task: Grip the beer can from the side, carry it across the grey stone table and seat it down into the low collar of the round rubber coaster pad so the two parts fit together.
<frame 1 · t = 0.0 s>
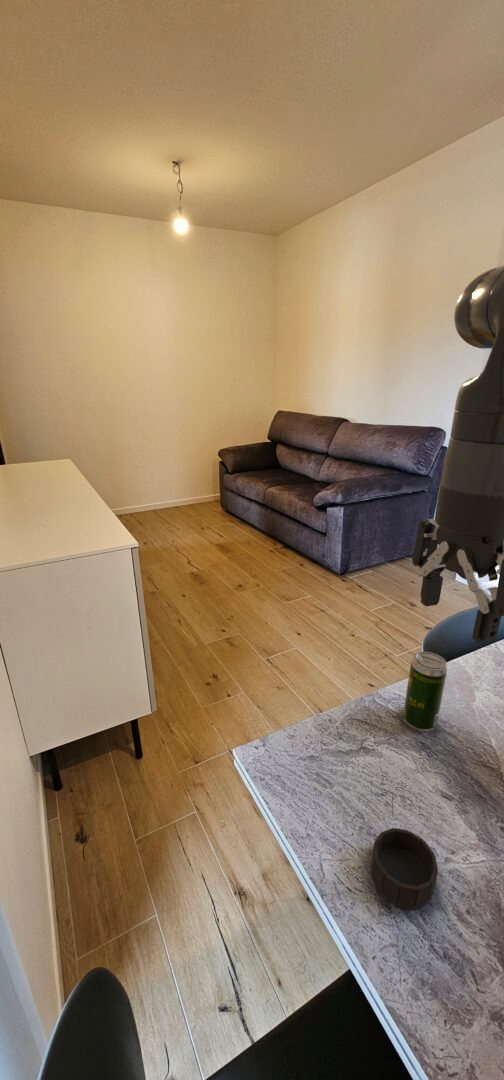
hand: (453, 621, 52), 28 cm above the table, tool pointing down, fingers open, 8 cm apart
beer can: (419, 722, 76), on the table
coaster dock: (401, 876, 52), on the table
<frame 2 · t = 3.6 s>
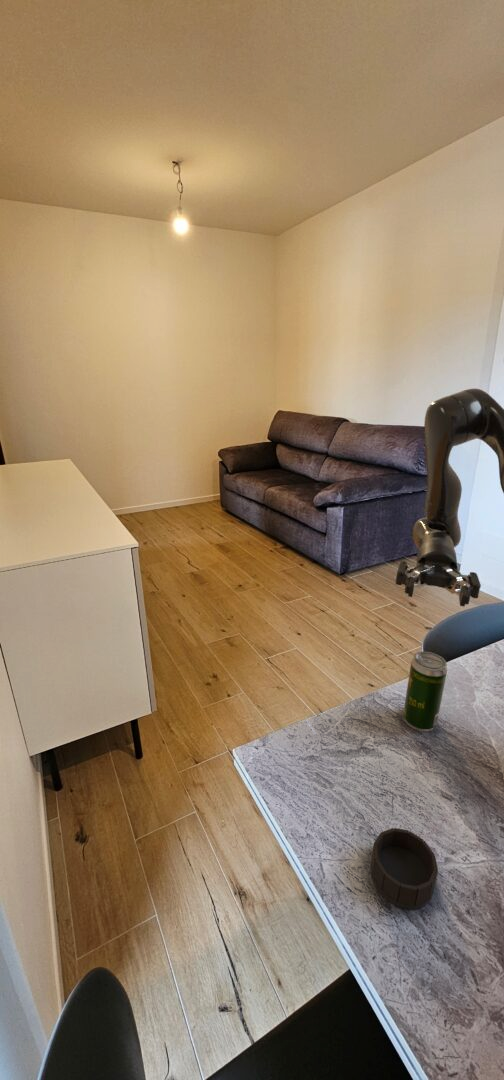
hand: (436, 596, 78), 18 cm above the table, tool horizontal, fingers open, 8 cm apart
nothing on the table moved.
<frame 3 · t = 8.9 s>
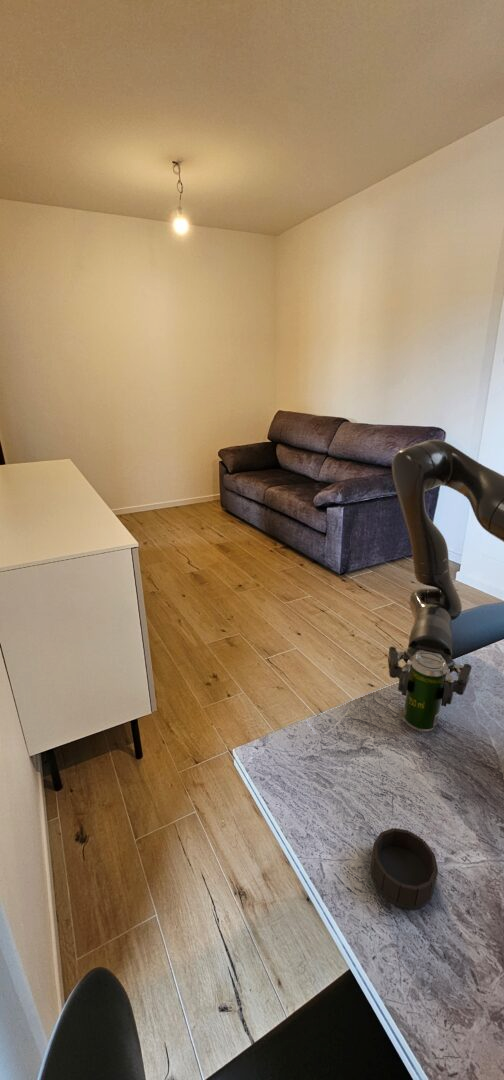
hand: (424, 696, 71), 7 cm above the table, tool horizontal, fingers closed on beer can, 5 cm apart
beer can: (419, 722, 76), on the table, touching gripper
when the fingers open (8 cm above the table, at t = 17.6 s): beer can stays where it is, resting on coaster dock.
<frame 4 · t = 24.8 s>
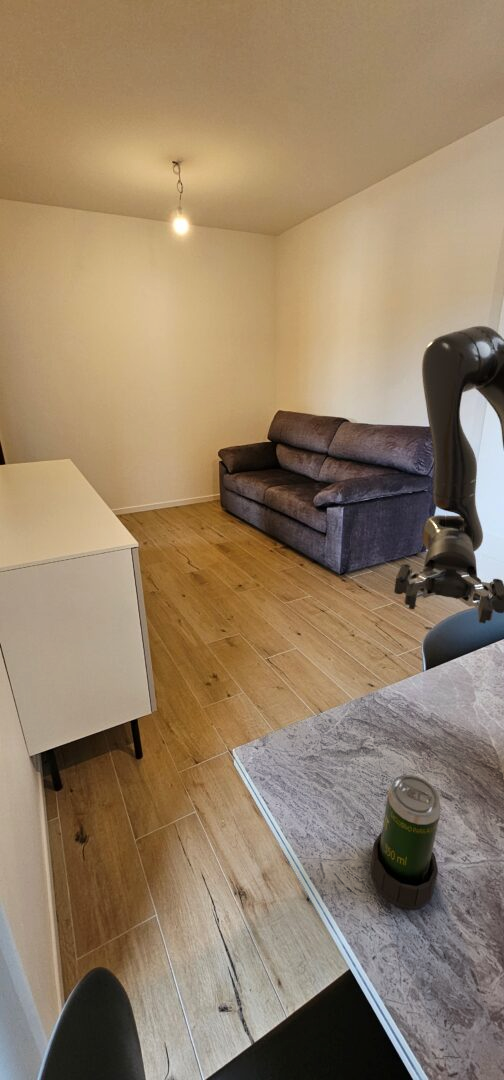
hand: (447, 609, 58), 26 cm above the table, tool horizontal, fingers open, 8 cm apart
beer can: (400, 872, 52), resting on coaster dock
at the end: beer can 0.1 cm off-centre on the coaster dock, point 0.4 cm above the coaster dock's base; beer can tilted 0°; the gripper is holding nothing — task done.
